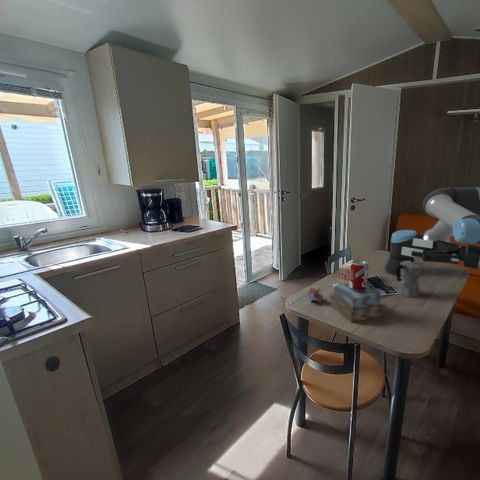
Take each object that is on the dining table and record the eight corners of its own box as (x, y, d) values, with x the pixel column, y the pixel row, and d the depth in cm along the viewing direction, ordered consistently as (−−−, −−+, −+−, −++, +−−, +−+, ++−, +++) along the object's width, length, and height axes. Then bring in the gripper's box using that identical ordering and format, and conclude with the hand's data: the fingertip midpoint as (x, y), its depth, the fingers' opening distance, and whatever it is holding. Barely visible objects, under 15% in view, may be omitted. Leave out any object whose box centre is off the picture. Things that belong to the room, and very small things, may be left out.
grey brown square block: (358, 299, 134) (360, 280, 132) (382, 315, 120) (384, 294, 118) (330, 305, 131) (331, 285, 128) (351, 322, 117) (352, 300, 114)
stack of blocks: (356, 275, 161) (357, 255, 157) (367, 278, 157) (369, 257, 153) (338, 288, 146) (339, 266, 143) (350, 292, 142) (351, 269, 139)
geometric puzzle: (329, 298, 133) (320, 282, 134) (321, 303, 128) (312, 287, 130) (318, 302, 138) (309, 287, 139) (310, 308, 133) (301, 292, 135)
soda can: (348, 291, 121) (350, 264, 118) (349, 284, 127) (350, 259, 124) (366, 293, 119) (368, 266, 116) (365, 286, 125) (367, 260, 122)
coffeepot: (410, 287, 144) (415, 253, 139) (427, 295, 136) (432, 259, 131) (385, 292, 140) (389, 257, 135) (401, 300, 132) (405, 264, 127)
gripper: (473, 281, 85) (395, 265, 100) (483, 258, 102) (416, 247, 116) (477, 257, 83) (397, 244, 97) (487, 238, 100) (418, 229, 114)
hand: (407, 246), depth 107 cm, fingers open, 13 cm apart
